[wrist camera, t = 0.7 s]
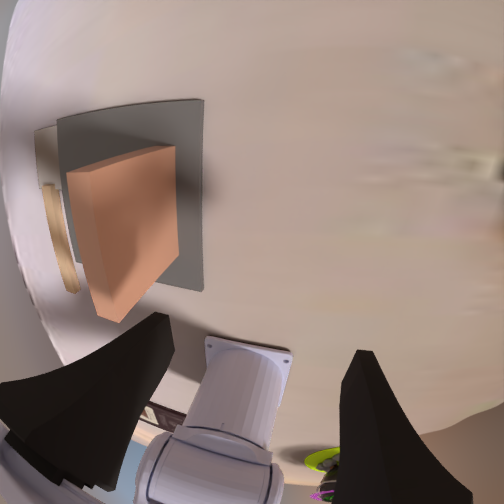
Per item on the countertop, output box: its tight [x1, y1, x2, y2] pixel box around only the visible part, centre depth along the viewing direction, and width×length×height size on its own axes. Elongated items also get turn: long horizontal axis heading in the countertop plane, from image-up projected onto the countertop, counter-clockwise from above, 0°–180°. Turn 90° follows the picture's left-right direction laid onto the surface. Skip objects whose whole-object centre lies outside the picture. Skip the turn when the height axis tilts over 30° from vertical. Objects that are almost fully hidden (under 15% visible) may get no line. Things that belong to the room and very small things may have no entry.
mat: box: [57, 100, 204, 292], centre depth 19 cm, size 14×14×1 cm
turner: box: [34, 125, 81, 294], centre depth 22 cm, size 18×4×1 cm, turn 177°
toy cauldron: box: [304, 447, 340, 502], centre depth 29 cm, size 15×15×11 cm
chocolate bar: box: [139, 401, 187, 433], centre depth 36 cm, size 9×1×18 cm
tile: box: [66, 146, 179, 323], centre depth 15 cm, size 8×2×8 cm, turn 176°
